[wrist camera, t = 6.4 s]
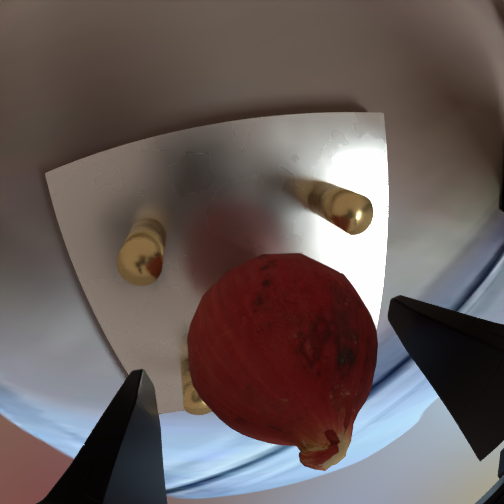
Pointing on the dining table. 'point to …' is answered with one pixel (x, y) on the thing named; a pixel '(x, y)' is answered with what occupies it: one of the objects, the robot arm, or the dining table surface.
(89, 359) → the dining table surface
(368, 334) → the red rounded piece
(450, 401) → the robot arm
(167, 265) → the plate
